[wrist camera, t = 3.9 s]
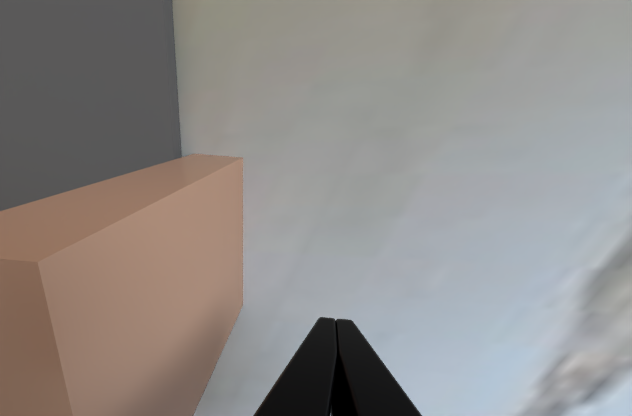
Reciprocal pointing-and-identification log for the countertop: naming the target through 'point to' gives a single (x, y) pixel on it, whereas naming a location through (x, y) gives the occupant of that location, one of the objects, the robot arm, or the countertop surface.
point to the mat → (84, 93)
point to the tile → (121, 291)
